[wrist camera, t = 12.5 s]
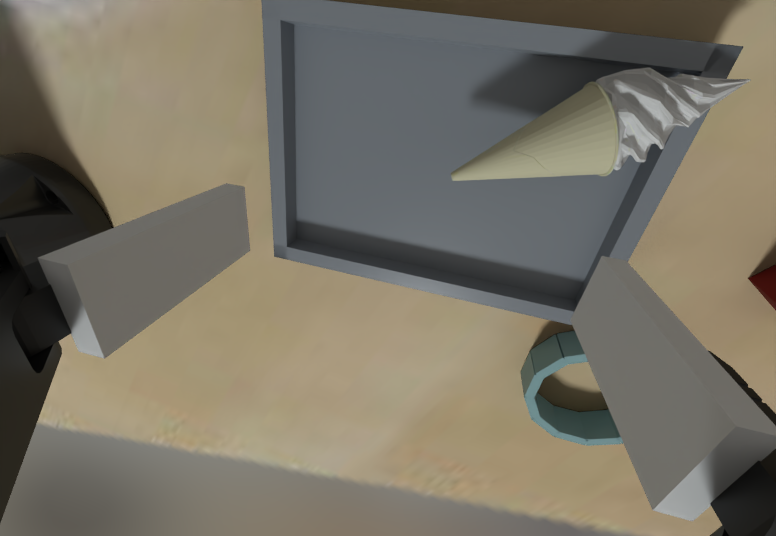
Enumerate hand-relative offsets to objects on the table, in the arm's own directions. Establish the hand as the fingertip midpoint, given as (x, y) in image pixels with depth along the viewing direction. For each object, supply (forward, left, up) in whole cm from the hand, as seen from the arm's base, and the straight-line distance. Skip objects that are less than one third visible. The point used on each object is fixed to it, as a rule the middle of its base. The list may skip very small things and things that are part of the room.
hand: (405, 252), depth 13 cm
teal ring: (+16, -16, -15) cm, 27 cm away
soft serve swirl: (+1, +1, -10) cm, 10 cm away
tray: (0, 0, -15) cm, 15 cm away
